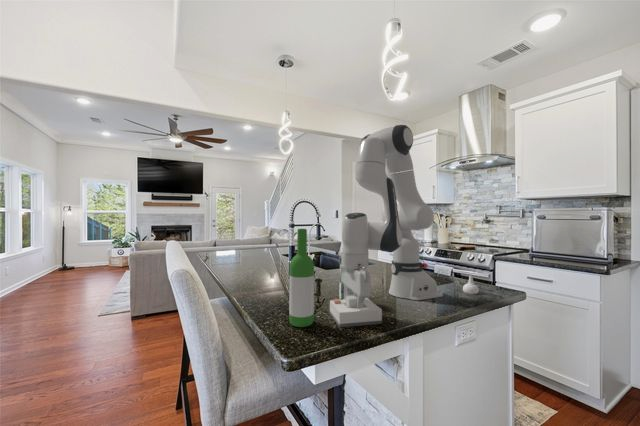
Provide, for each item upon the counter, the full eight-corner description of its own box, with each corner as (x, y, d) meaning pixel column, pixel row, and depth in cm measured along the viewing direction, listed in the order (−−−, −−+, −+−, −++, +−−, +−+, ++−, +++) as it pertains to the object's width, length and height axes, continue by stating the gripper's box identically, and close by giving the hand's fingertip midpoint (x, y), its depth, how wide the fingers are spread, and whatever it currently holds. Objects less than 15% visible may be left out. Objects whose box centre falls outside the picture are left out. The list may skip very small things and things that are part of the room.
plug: (359, 312, 97) (359, 295, 97) (363, 316, 93) (363, 298, 93) (345, 313, 96) (345, 296, 96) (348, 317, 92) (349, 299, 92)
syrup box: (338, 299, 115) (339, 263, 114) (353, 299, 115) (353, 263, 115) (341, 304, 109) (341, 266, 109) (356, 303, 109) (356, 266, 109)
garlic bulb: (478, 296, 122) (481, 278, 122) (462, 293, 125) (464, 275, 125) (477, 292, 128) (479, 275, 128) (462, 289, 131) (464, 272, 130)
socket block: (367, 310, 102) (367, 295, 102) (381, 323, 90) (381, 307, 90) (329, 313, 99) (329, 298, 99) (339, 327, 87) (339, 310, 87)
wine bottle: (313, 318, 94) (314, 228, 94) (313, 328, 86) (314, 229, 86) (290, 318, 94) (290, 228, 94) (288, 328, 86) (288, 229, 86)
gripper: (376, 267, 85) (376, 313, 85) (353, 256, 105) (353, 293, 105) (356, 268, 84) (356, 315, 84) (337, 257, 104) (337, 294, 104)
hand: (354, 303), depth 95 cm, fingers open, 8 cm apart
